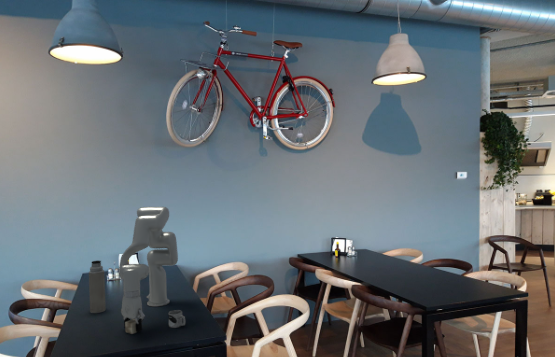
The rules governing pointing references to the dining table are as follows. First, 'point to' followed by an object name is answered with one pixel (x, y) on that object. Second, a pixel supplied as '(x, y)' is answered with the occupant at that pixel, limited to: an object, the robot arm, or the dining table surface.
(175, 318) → the mug
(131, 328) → the birch cube
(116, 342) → the dining table surface
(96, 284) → the thermos bottle
